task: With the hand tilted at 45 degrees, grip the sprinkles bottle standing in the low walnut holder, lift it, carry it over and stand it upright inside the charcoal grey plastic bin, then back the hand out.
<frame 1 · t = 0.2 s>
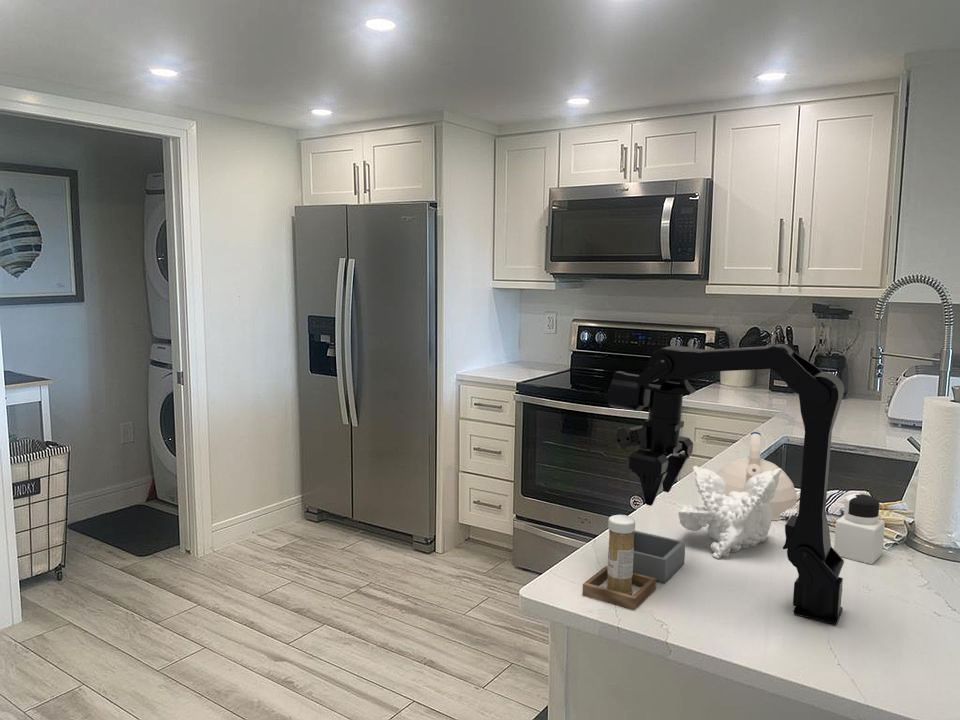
hand: (657, 498, 133), 14 cm above the worktop, tool pointing down, fingers open, 9 cm apart
walnut holder: (619, 592, 127), on the worktop
white coral: (727, 544, 149), on the worktop
medicine bottle: (857, 555, 144), on the worktop
sprinkles bottle: (619, 593, 127), on the worktop
kettle: (751, 507, 172), on the worktop
grey bin: (647, 566, 137), on the worktop
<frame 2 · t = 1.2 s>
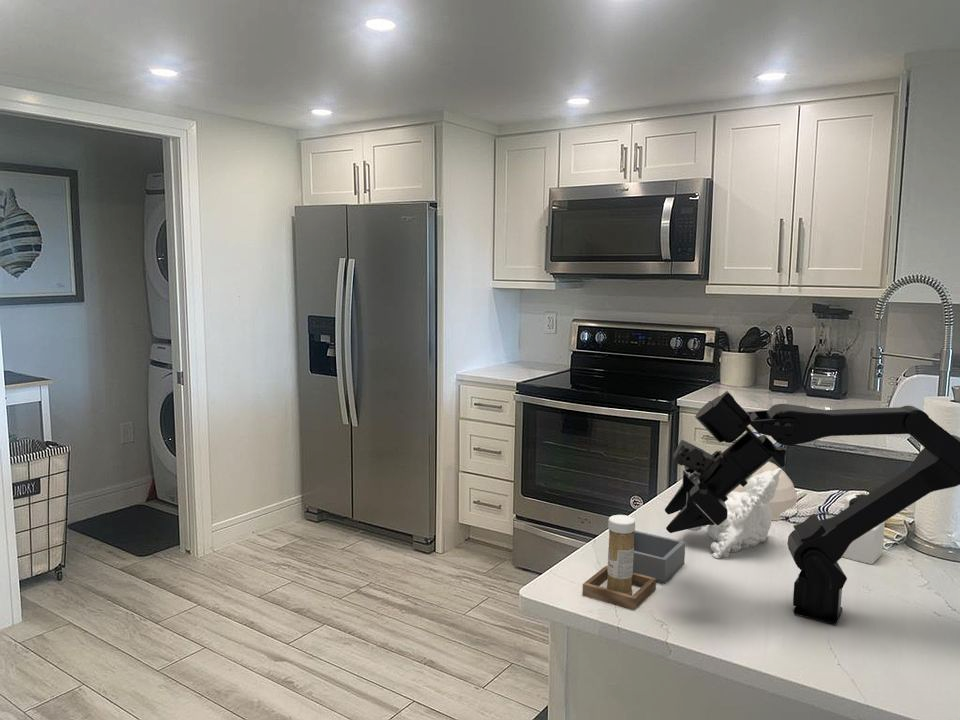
hand: (667, 521, 123), 14 cm above the worktop, tool tilted 45°, fingers open, 9 cm apart
nothing on the worktop moved.
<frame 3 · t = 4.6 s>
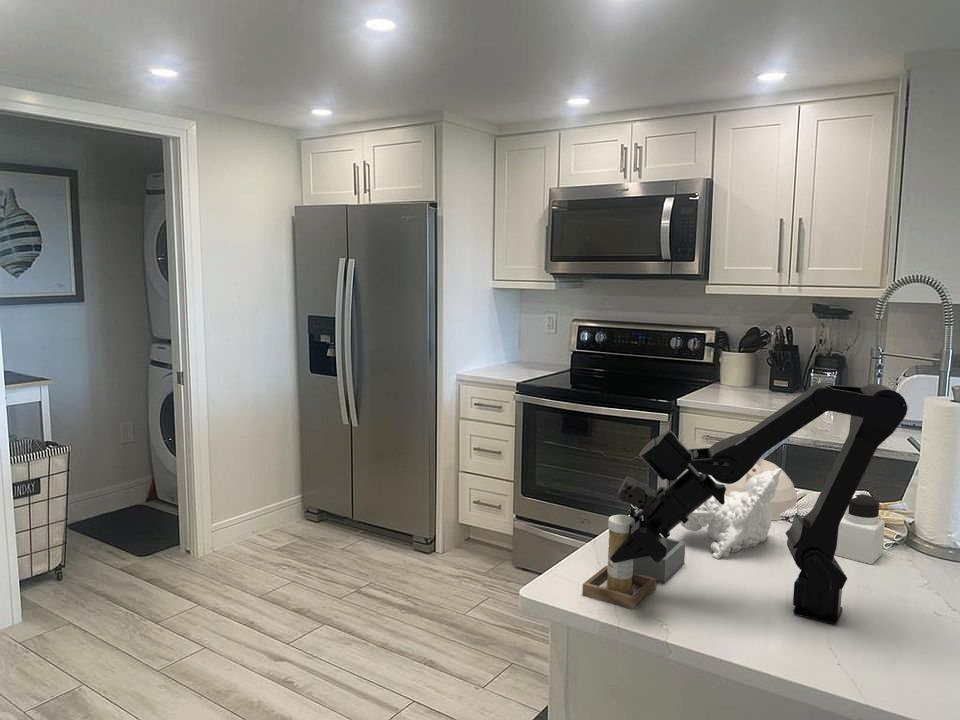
hand: (612, 555, 126), 7 cm above the worktop, tool tilted 45°, fingers closed on sprinkles bottle, 4 cm apart
sprinkles bottle: (619, 593, 127), on the worktop, touching gripper
everything else where it was.
when the fingers open (8 cm above the worktop, at t = 9.1 s): sprinkles bottle drops 1 cm, resting on grey bin.
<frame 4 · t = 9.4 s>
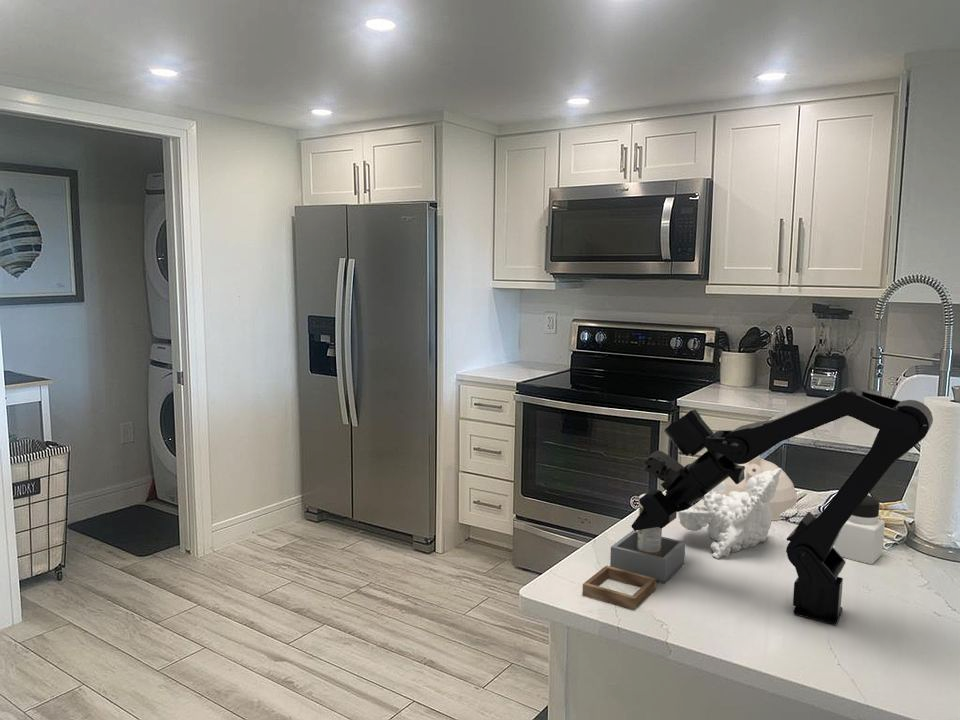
hand: (642, 522, 137), 9 cm above the worktop, tool tilted 45°, fingers open, 8 cm apart
sprinkles bottle: (648, 565, 137), resting on grey bin
everything else where it was.
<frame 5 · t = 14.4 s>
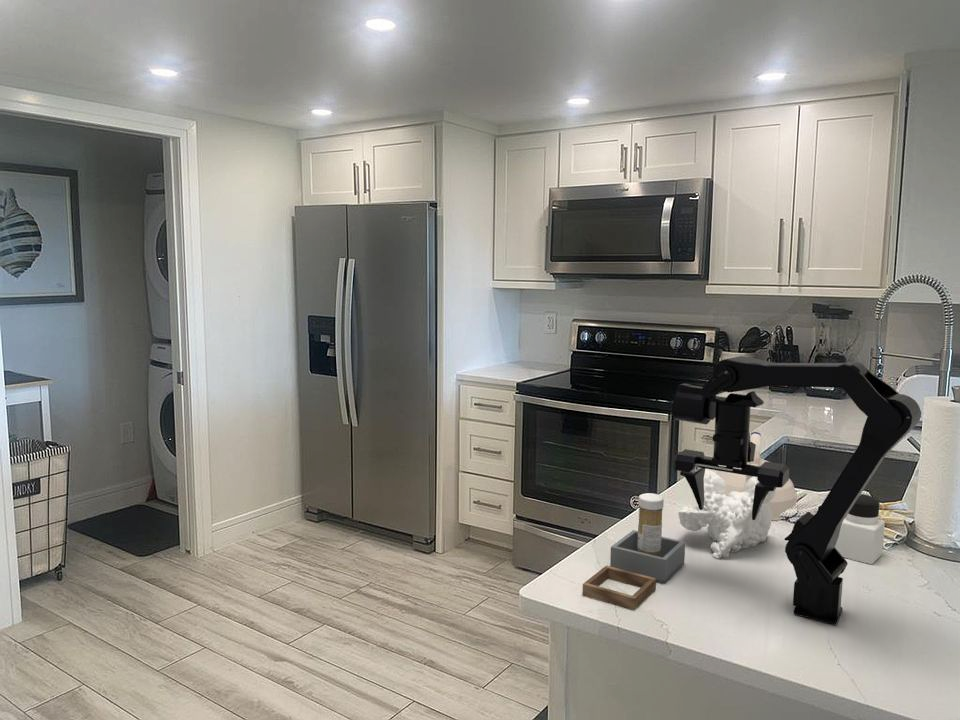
hand: (727, 514, 128), 13 cm above the worktop, tool pointing down, fingers open, 9 cm apart
nothing on the worktop moved.
at the end: sprinkles bottle 0.2 cm off-centre on the grey bin, point 0.3 cm above the grey bin's base; sprinkles bottle tilted 0°; the gripper is holding nothing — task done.
